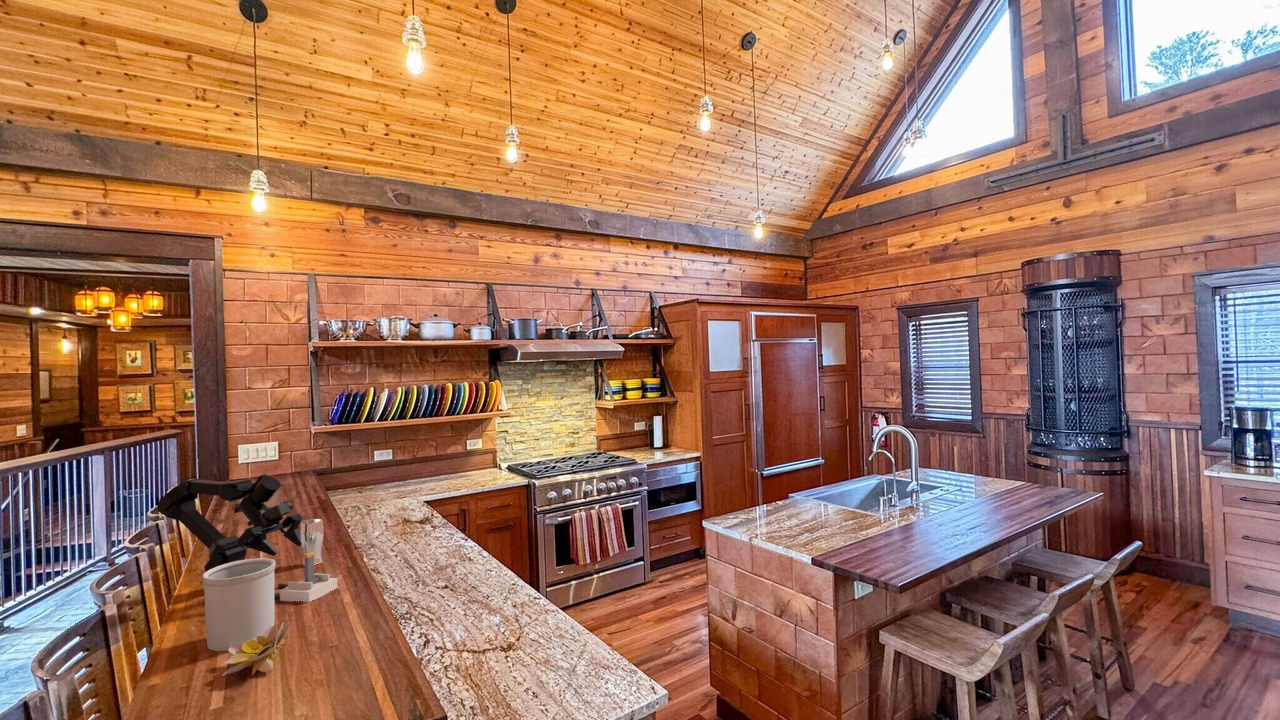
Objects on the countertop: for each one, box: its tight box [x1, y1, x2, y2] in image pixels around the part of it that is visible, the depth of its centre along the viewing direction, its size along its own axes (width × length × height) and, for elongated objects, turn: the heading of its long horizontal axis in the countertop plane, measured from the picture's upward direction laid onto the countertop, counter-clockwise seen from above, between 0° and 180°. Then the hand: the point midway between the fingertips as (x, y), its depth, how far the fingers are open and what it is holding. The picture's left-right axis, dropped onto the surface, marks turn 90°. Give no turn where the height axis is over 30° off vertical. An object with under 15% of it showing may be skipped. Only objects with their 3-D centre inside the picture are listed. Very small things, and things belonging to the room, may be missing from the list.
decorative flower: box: [221, 619, 291, 677], centre depth 124 cm, size 15×11×10 cm
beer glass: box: [300, 518, 325, 566], centre depth 194 cm, size 7×7×15 cm
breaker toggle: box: [302, 552, 320, 583], centre depth 165 cm, size 3×5×9 cm, turn 168°
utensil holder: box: [201, 557, 277, 652], centre depth 138 cm, size 15×15×18 cm
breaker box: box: [274, 572, 338, 603], centre depth 166 cm, size 19×11×5 cm, turn 78°
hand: (288, 550), depth 167 cm, fingers open, 9 cm apart
